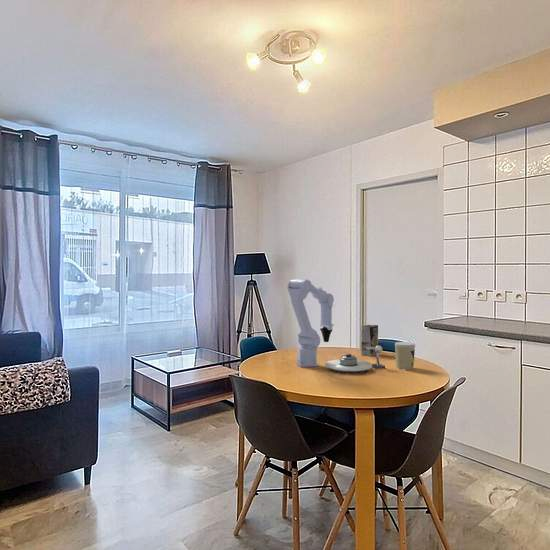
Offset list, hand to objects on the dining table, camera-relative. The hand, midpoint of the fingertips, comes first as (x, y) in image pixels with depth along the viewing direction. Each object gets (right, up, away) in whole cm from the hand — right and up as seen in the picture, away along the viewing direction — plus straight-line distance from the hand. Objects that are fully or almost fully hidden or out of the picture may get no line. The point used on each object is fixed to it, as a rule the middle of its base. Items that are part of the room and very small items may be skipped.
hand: (326, 341), depth 223 cm
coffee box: (+26, -9, +13) cm, 31 cm away
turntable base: (+8, -10, -21) cm, 24 cm away
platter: (+8, -8, -21) cm, 24 cm away
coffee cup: (+35, -10, -19) cm, 42 cm away
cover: (+8, -7, -21) cm, 24 cm away
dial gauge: (+21, -10, -18) cm, 29 cm away
